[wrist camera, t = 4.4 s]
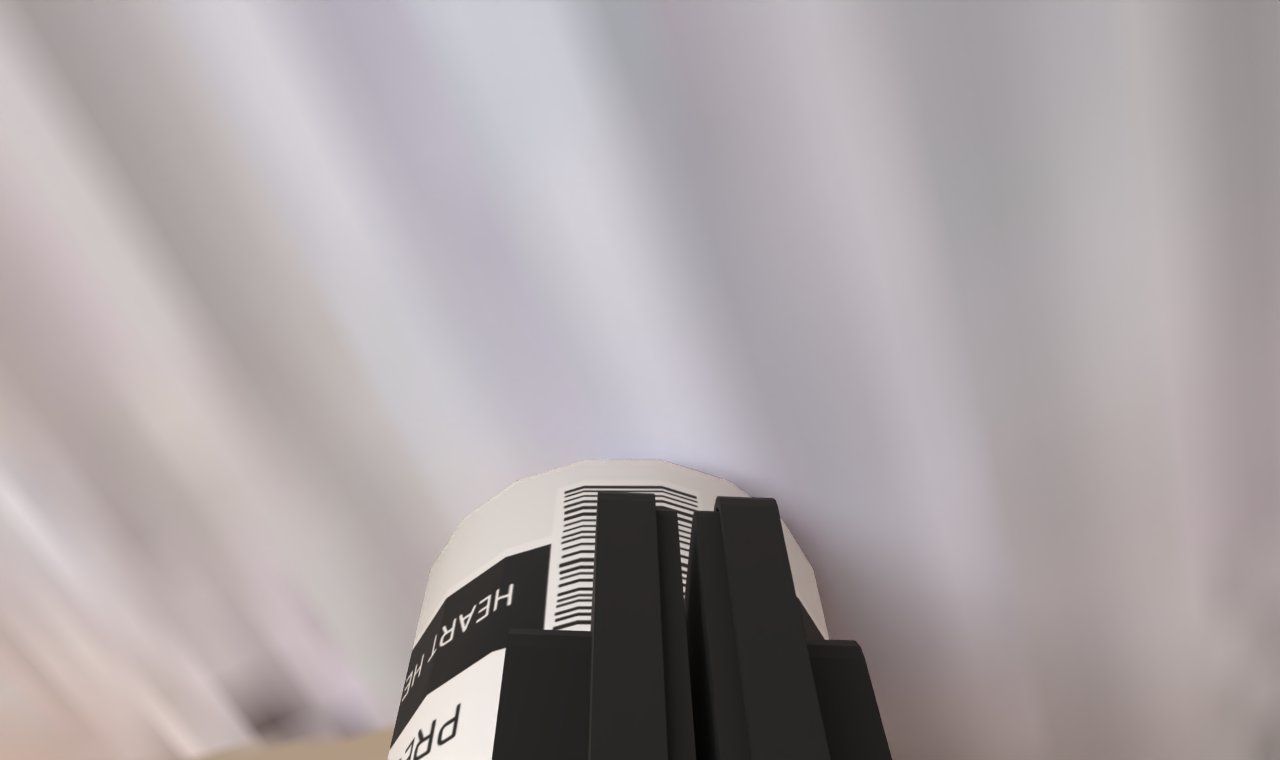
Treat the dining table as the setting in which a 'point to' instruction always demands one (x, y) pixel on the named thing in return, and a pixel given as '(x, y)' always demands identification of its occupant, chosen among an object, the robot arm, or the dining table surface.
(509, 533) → the supplement can
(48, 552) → the dining table surface
